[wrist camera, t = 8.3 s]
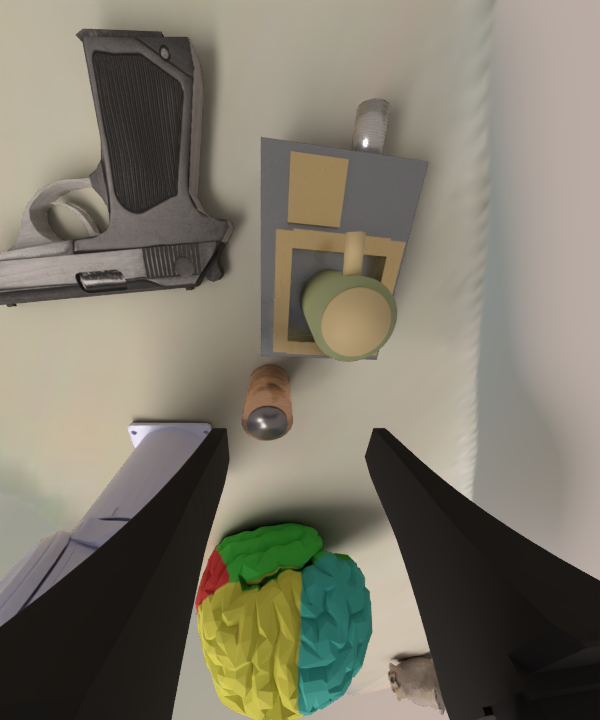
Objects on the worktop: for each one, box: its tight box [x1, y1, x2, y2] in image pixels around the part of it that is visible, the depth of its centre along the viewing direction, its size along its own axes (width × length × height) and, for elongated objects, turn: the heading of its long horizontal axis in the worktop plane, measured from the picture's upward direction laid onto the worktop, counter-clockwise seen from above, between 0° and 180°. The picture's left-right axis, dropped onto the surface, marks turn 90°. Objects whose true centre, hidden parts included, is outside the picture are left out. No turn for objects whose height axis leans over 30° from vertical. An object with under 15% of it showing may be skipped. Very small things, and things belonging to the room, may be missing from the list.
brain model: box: [195, 523, 372, 720], centre depth 28 cm, size 24×19×15 cm
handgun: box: [0, 29, 234, 307], centre depth 13 cm, size 18×2×12 cm
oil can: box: [301, 232, 397, 361], centre depth 11 cm, size 5×4×6 cm
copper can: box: [242, 365, 293, 440], centre depth 18 cm, size 4×4×6 cm
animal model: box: [388, 656, 446, 715], centre depth 73 cm, size 14×28×17 cm
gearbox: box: [261, 99, 428, 360], centre depth 14 cm, size 14×9×5 cm, turn 175°
